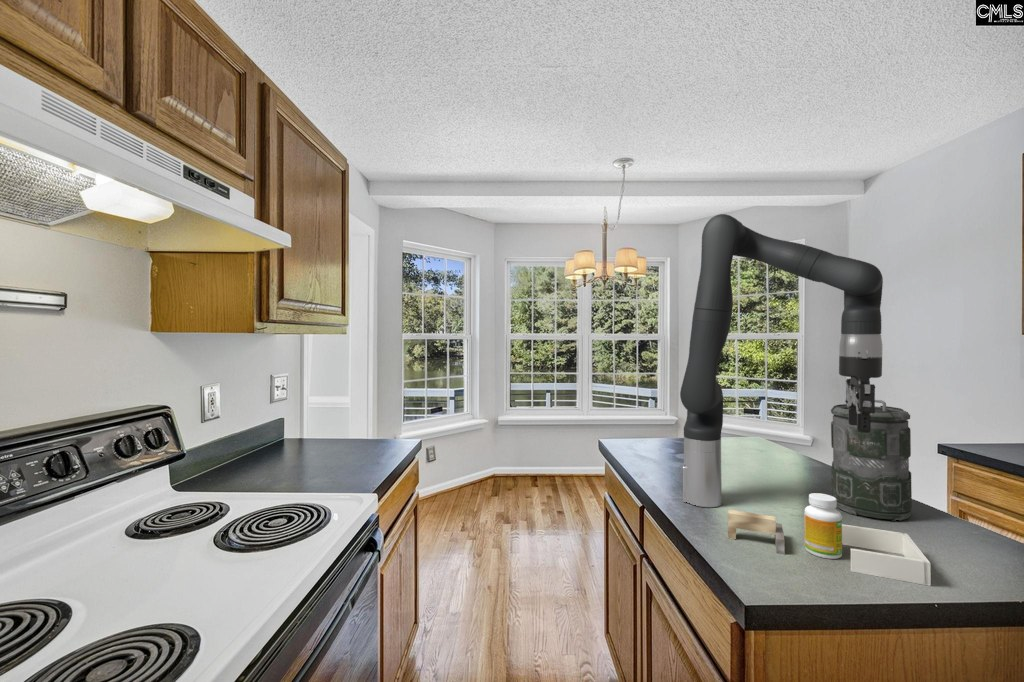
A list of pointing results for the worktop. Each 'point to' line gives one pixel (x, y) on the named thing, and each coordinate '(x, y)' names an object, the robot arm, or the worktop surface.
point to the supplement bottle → (823, 527)
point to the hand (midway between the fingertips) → (858, 428)
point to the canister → (872, 464)
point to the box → (886, 555)
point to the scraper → (756, 526)
